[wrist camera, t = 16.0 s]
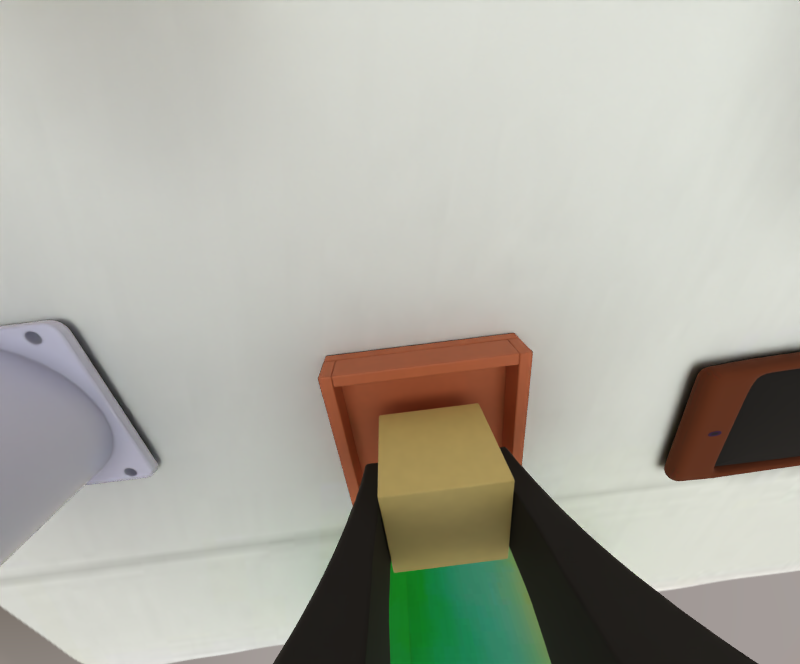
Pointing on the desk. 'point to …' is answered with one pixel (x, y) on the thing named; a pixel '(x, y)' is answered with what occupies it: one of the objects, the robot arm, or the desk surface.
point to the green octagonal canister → (464, 616)
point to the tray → (424, 391)
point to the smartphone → (739, 420)
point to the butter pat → (443, 488)
